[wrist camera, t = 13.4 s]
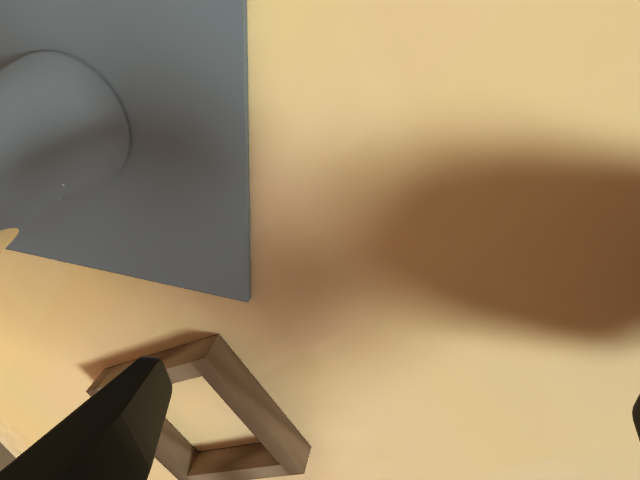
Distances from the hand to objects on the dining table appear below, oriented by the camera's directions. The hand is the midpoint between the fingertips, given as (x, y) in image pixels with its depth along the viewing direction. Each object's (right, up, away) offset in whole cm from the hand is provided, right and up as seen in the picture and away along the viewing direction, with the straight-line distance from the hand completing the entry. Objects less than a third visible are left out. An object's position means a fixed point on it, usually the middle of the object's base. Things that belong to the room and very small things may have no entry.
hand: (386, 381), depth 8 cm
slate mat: (-13, +9, +13) cm, 20 cm away
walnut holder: (-10, -9, +24) cm, 27 cm away
